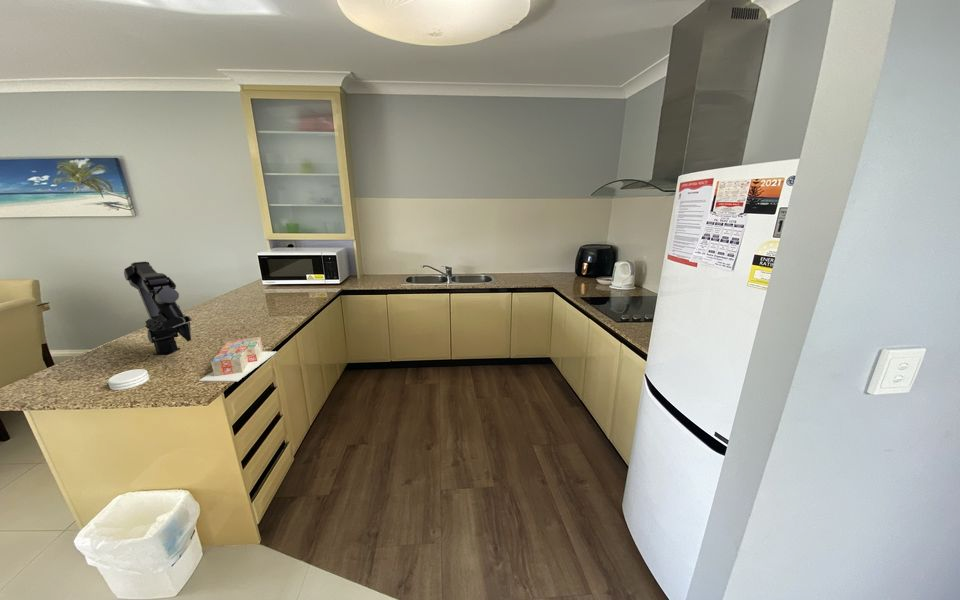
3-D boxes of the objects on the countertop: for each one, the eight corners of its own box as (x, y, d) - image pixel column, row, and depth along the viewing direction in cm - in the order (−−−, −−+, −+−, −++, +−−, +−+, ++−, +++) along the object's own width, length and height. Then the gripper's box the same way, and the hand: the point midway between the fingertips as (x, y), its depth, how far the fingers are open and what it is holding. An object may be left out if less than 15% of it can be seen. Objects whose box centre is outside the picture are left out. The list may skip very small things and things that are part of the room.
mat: (199, 381, 120) (198, 380, 119) (244, 352, 144) (244, 351, 143) (237, 381, 120) (237, 380, 120) (276, 352, 144) (276, 351, 144)
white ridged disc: (142, 374, 124) (140, 366, 123) (155, 380, 120) (152, 372, 119) (105, 386, 115) (102, 378, 114) (117, 393, 111) (114, 384, 110)
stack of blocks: (213, 376, 122) (252, 371, 127) (210, 362, 120) (249, 356, 125) (230, 353, 141) (263, 349, 146) (227, 340, 139) (261, 336, 144)
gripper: (147, 314, 130) (169, 348, 134) (133, 316, 115) (158, 353, 119) (181, 302, 136) (201, 335, 140) (171, 302, 121) (195, 339, 124)
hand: (189, 340), depth 130 cm, fingers closed
